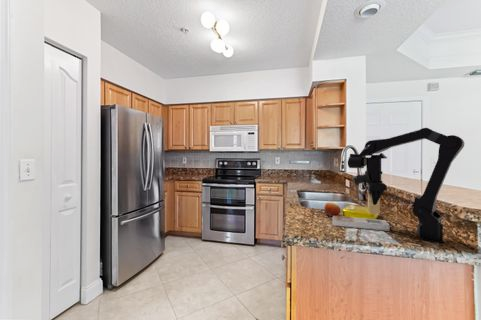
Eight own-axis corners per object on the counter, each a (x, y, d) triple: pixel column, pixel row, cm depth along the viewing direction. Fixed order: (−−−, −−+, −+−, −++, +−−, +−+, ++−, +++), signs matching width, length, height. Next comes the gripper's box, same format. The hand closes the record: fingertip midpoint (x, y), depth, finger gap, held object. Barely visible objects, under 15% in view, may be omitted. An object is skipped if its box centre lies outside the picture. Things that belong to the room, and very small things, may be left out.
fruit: (318, 212, 120) (324, 199, 121) (327, 218, 122) (333, 205, 123) (328, 215, 112) (335, 201, 113) (339, 222, 114) (345, 208, 116)
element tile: (375, 223, 106) (375, 213, 106) (341, 217, 115) (341, 208, 115) (378, 216, 117) (378, 207, 117) (347, 212, 127) (347, 204, 127)
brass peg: (377, 212, 99) (377, 194, 99) (379, 214, 95) (379, 195, 95) (367, 211, 100) (367, 194, 100) (369, 213, 97) (369, 195, 97)
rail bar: (385, 225, 99) (385, 219, 99) (389, 231, 92) (389, 224, 92) (332, 220, 108) (332, 215, 108) (332, 225, 100) (332, 219, 100)
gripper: (351, 167, 109) (351, 199, 109) (355, 169, 92) (355, 206, 92) (377, 168, 105) (377, 200, 105) (387, 169, 88) (387, 208, 88)
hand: (373, 203), depth 98 cm, fingers closed on brass peg, 4 cm apart
